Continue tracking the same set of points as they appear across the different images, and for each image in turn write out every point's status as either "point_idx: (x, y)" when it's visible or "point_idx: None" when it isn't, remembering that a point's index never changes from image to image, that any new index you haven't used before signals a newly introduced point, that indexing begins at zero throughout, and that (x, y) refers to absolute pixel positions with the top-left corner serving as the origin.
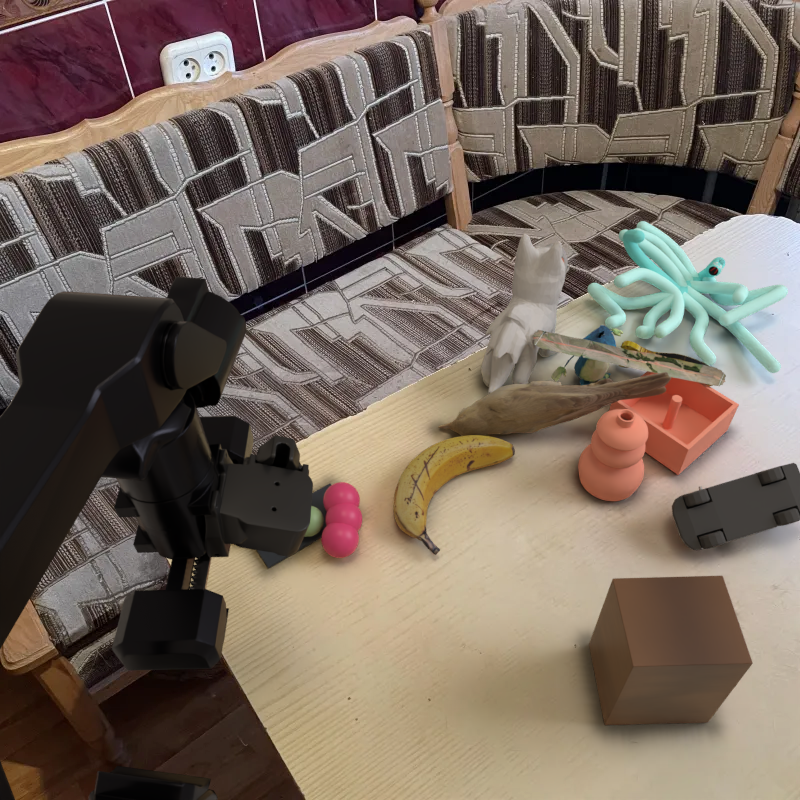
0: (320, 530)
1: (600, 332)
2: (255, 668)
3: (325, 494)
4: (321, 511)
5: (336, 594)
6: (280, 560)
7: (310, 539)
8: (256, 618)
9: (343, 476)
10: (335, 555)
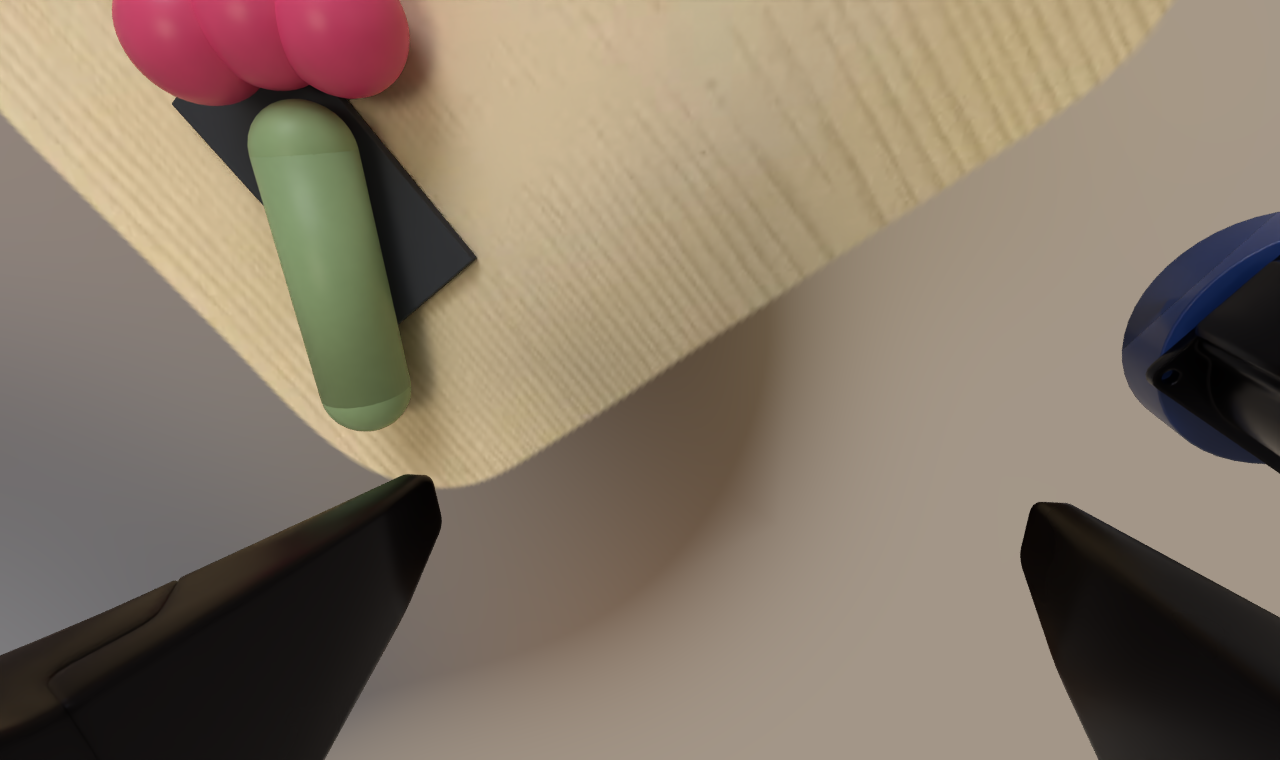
0: None
1: None
2: (764, 255)
3: (185, 94)
4: None
5: (529, 31)
6: (448, 227)
7: (367, 143)
8: (621, 271)
9: None
10: (402, 38)
